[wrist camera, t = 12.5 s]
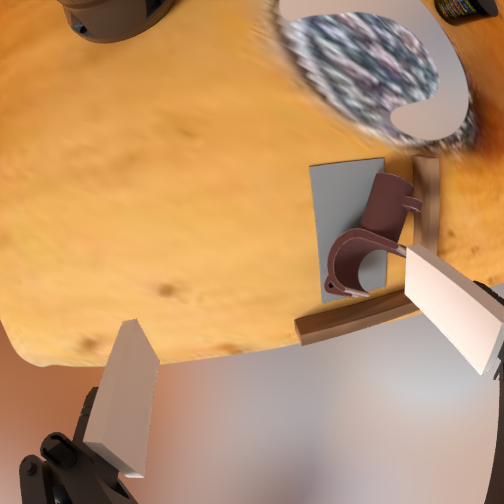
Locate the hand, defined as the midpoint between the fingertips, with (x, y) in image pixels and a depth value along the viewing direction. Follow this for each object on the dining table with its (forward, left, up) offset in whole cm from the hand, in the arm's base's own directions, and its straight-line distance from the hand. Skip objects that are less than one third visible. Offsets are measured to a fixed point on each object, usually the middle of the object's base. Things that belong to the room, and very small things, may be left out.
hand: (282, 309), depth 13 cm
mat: (+7, +15, -25) cm, 30 cm away
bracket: (+7, +16, -25) cm, 30 cm away
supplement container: (-30, +41, -25) cm, 56 cm away
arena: (+9, +16, -25) cm, 31 cm away
